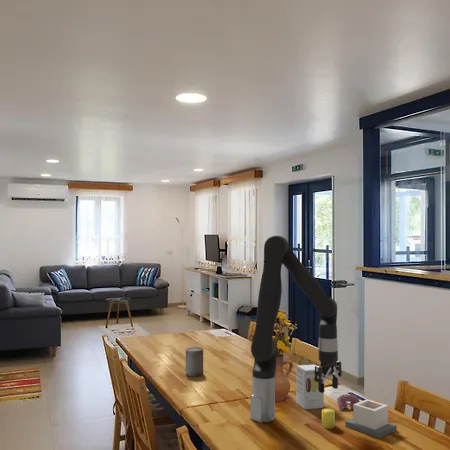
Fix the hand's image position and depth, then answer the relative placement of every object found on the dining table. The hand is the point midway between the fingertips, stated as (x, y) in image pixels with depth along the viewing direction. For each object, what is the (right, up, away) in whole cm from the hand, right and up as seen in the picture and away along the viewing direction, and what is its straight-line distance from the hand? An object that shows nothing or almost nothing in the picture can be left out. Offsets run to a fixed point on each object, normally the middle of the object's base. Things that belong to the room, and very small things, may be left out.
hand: (328, 390), depth 189 cm
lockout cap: (0, -14, 0) cm, 14 cm away
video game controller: (+13, -15, +19) cm, 28 cm away
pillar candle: (-58, -16, +71) cm, 93 cm away
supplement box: (-3, -15, +23) cm, 28 cm away
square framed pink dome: (+16, -14, -2) cm, 21 cm away
